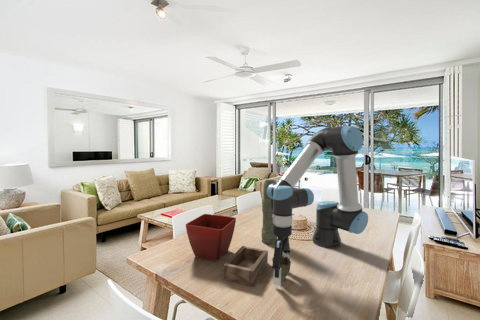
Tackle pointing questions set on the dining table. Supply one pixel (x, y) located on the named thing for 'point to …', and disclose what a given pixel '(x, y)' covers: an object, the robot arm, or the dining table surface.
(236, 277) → the walnut box
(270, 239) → the thermos
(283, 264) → the olive textured bell shape
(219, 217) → the plant pot
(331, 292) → the dining table surface
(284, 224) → the robot arm
